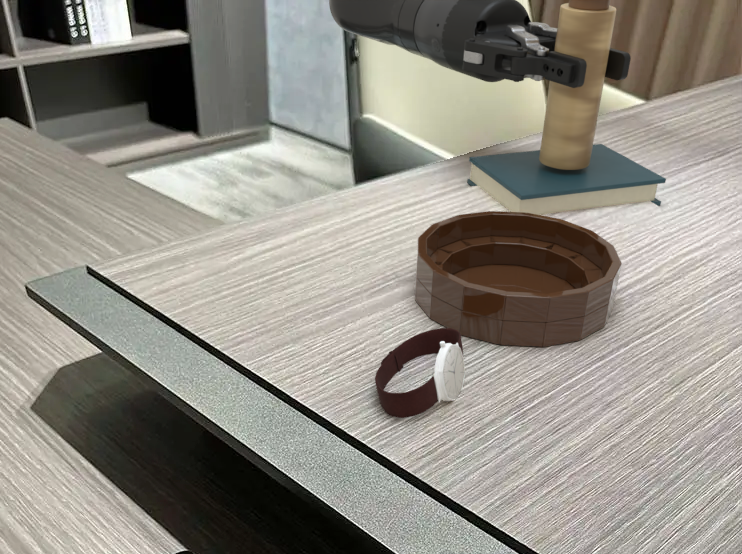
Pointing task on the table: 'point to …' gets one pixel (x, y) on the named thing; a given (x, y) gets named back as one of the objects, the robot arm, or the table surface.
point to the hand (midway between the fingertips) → (604, 70)
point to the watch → (439, 387)
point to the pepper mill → (577, 105)
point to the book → (563, 182)
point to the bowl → (516, 278)
